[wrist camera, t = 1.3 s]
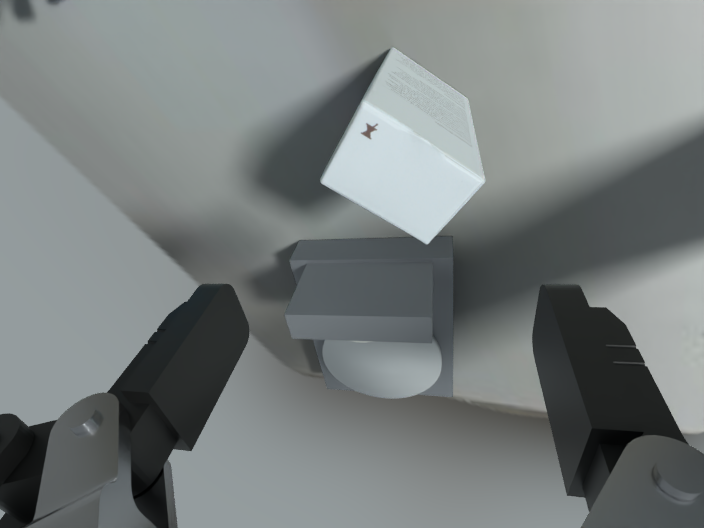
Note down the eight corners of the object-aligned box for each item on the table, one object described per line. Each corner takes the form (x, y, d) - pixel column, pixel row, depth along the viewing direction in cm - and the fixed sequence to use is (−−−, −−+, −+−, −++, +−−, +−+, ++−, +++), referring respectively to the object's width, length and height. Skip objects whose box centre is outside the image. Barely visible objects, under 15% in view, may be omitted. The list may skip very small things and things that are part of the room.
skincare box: (358, 106, 27) (313, 182, 17) (392, 44, 24) (361, 94, 15) (431, 153, 28) (427, 249, 18) (472, 99, 25) (490, 178, 16)
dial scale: (452, 236, 31) (455, 314, 24) (452, 372, 41) (454, 456, 34) (299, 240, 34) (262, 311, 27) (333, 366, 44) (313, 442, 37)
